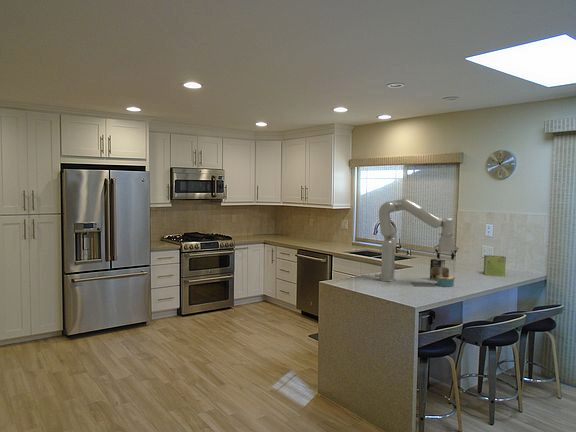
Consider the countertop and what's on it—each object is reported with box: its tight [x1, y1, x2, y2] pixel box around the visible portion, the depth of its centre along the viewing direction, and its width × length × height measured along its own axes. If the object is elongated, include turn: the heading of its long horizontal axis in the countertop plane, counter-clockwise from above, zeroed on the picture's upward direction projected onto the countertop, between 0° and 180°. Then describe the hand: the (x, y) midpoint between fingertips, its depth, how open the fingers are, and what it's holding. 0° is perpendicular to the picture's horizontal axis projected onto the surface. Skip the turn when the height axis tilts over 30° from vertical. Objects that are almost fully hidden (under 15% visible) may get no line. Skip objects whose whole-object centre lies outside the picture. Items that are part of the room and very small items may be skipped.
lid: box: [436, 267, 456, 280], centre depth 313 cm, size 13×13×7 cm
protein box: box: [483, 254, 507, 277], centre depth 360 cm, size 10×15×16 cm
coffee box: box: [429, 258, 446, 282], centre depth 332 cm, size 9×6×16 cm
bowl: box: [436, 278, 455, 288], centre depth 314 cm, size 11×11×6 cm
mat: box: [409, 281, 436, 288], centre depth 315 cm, size 15×15×1 cm
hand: (445, 258), depth 313 cm, fingers open, 9 cm apart
